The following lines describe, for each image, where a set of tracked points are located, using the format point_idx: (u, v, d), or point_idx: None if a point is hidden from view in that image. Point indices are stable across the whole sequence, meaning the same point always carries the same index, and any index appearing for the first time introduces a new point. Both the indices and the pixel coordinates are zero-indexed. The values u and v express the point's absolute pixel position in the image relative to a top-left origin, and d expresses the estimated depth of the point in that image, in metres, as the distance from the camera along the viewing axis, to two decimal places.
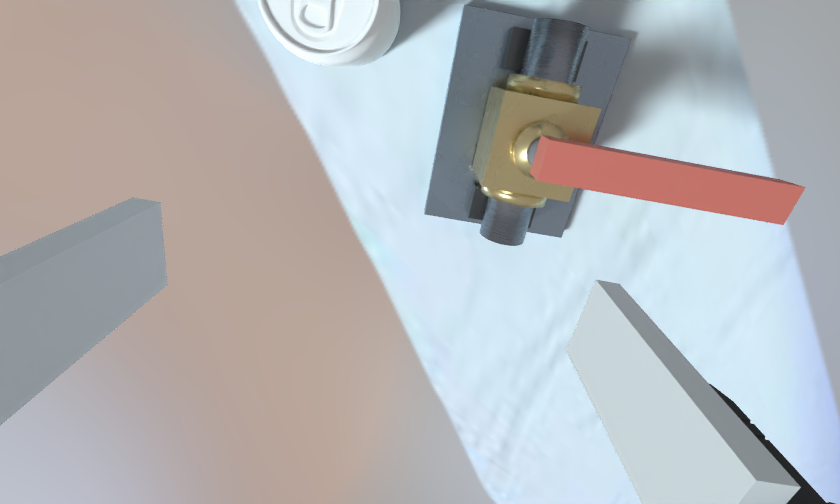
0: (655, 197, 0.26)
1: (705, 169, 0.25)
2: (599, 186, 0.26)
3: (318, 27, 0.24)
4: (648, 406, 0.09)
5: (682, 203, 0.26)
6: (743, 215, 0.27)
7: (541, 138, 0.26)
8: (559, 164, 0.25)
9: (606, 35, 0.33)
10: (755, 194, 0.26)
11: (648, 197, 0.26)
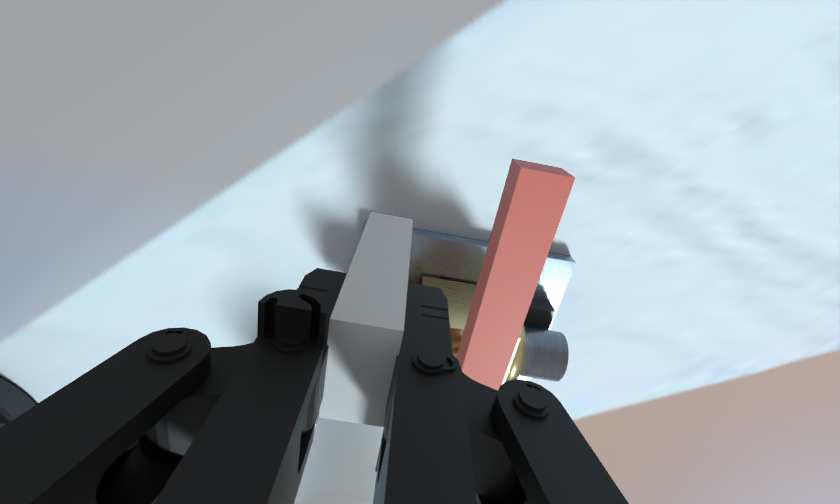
0: (514, 335, 0.22)
1: (485, 291, 0.21)
2: (495, 387, 0.24)
3: None
4: None
5: (525, 307, 0.22)
6: (552, 234, 0.20)
7: None
8: None
9: None
10: (523, 228, 0.20)
11: (513, 342, 0.23)
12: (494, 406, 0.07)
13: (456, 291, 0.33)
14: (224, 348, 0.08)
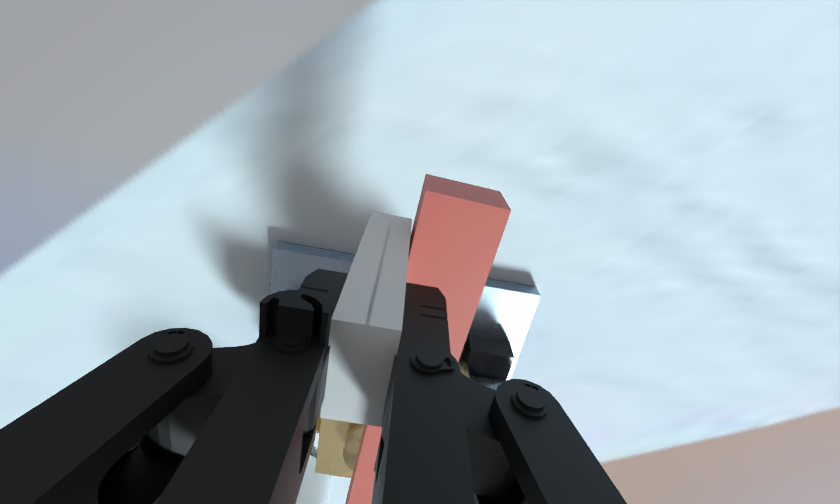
0: None
1: None
2: None
3: None
4: None
5: None
6: (477, 292, 0.13)
7: None
8: None
9: (272, 276, 0.27)
10: (434, 281, 0.13)
11: None
12: (492, 406, 0.07)
13: None
14: (225, 348, 0.08)
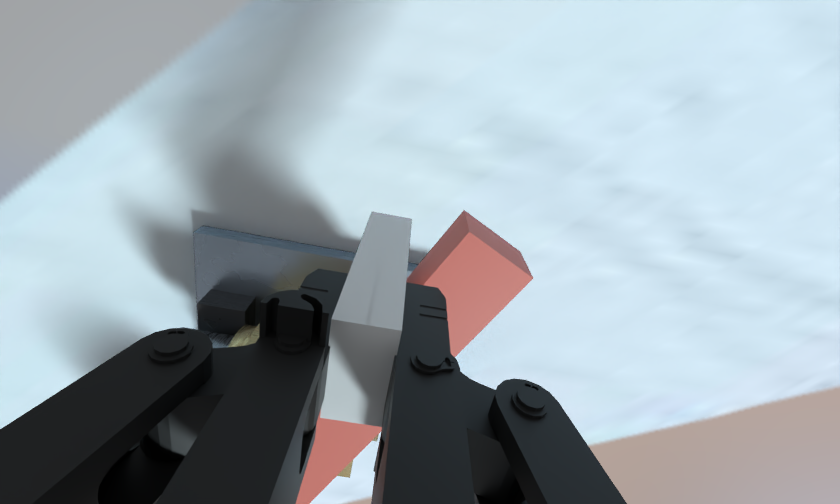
0: (365, 437, 0.16)
1: None
2: (314, 487, 0.17)
3: None
4: None
5: None
6: (470, 336, 0.14)
7: None
8: None
9: (196, 261, 0.26)
10: None
11: (361, 444, 0.16)
12: (492, 406, 0.07)
13: None
14: (225, 348, 0.08)
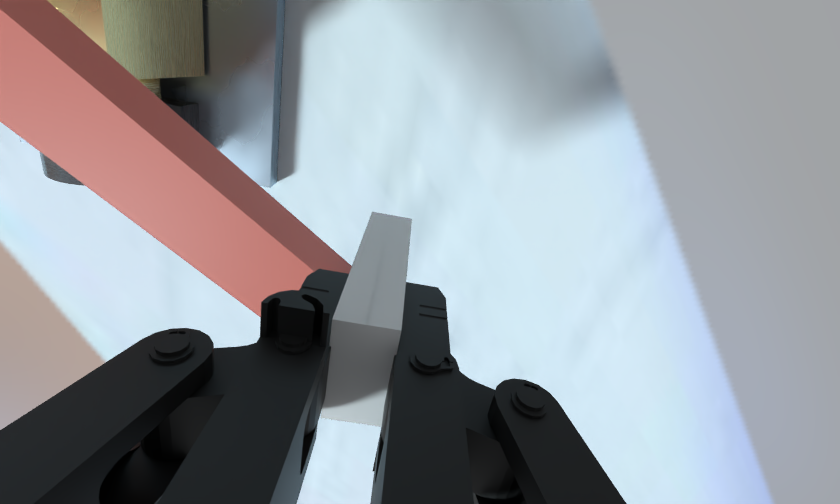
0: (50, 149, 0.11)
1: (174, 154, 0.11)
2: None
3: None
4: None
5: (113, 199, 0.12)
6: (236, 294, 0.13)
7: None
8: None
9: None
10: (264, 267, 0.12)
11: (33, 139, 0.11)
12: (491, 406, 0.07)
13: None
14: (226, 348, 0.08)
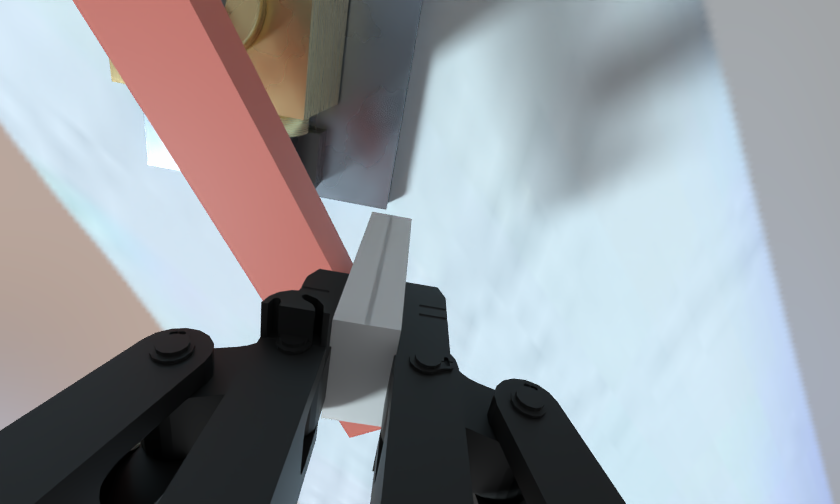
0: (230, 233, 0.12)
1: None
2: (153, 106, 0.11)
3: None
4: None
5: (260, 285, 0.13)
6: None
7: None
8: None
9: None
10: None
11: (219, 221, 0.12)
12: (491, 406, 0.07)
13: (340, 12, 0.18)
14: (226, 348, 0.08)
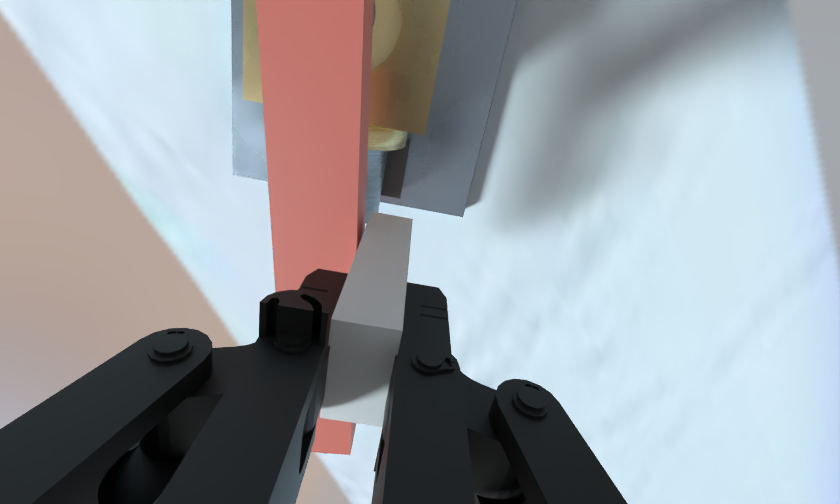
0: (281, 248, 0.13)
1: None
2: (276, 120, 0.11)
3: None
4: None
5: None
6: None
7: None
8: None
9: None
10: None
11: (278, 234, 0.12)
12: (493, 406, 0.07)
13: None
14: (225, 348, 0.08)
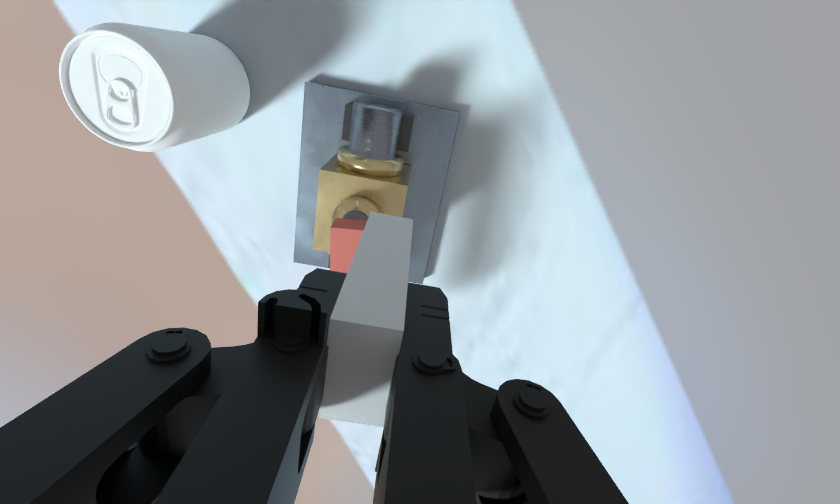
0: None
1: None
2: None
3: (126, 124, 0.27)
4: None
5: None
6: None
7: None
8: (347, 243, 0.29)
9: (437, 110, 0.36)
10: None
11: None
12: (494, 406, 0.07)
13: None
14: (223, 348, 0.08)
